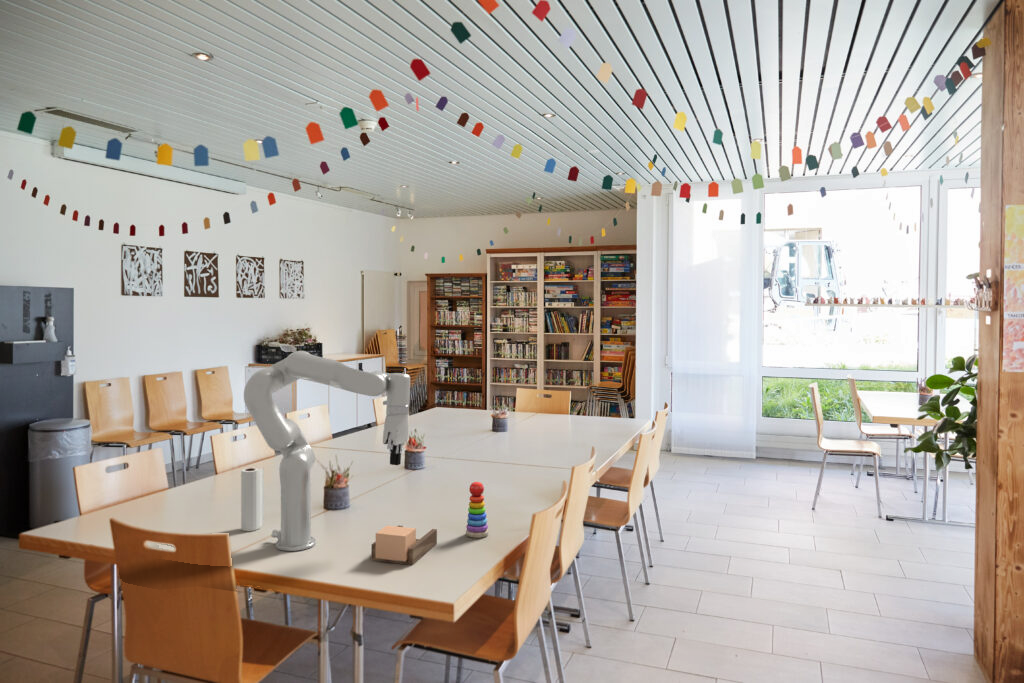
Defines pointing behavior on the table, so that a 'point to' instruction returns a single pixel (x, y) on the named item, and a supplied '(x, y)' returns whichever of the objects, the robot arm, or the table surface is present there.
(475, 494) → the stacking toy
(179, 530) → the table surface
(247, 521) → the paper towel roll
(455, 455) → the table surface
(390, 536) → the block
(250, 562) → the table surface
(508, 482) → the table surface
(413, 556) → the chute
